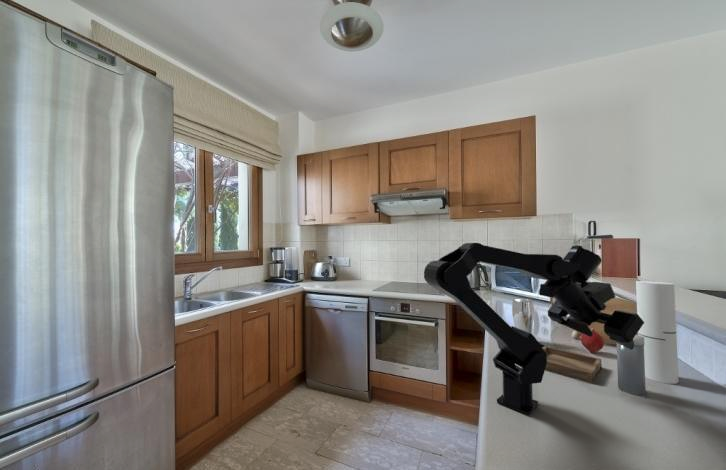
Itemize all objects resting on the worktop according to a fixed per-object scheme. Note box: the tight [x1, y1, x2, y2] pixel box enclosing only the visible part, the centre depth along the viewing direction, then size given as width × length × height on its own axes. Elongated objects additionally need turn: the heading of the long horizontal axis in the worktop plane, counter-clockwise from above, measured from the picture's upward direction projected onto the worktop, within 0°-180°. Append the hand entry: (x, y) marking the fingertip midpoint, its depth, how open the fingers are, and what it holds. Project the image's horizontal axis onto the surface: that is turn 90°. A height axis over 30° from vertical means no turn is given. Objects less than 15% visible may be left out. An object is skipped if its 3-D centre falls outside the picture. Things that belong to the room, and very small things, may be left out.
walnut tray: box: [542, 345, 602, 385], centre depth 80 cm, size 14×14×2 cm
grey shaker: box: [616, 334, 647, 397], centre depth 67 cm, size 5×5×13 cm
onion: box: [580, 327, 605, 354], centre depth 91 cm, size 6×6×8 cm
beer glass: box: [511, 297, 535, 335], centre depth 102 cm, size 7×7×15 cm
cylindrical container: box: [635, 280, 679, 385], centre depth 75 cm, size 7×7×25 cm
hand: (610, 341), depth 66 cm, fingers open, 9 cm apart
